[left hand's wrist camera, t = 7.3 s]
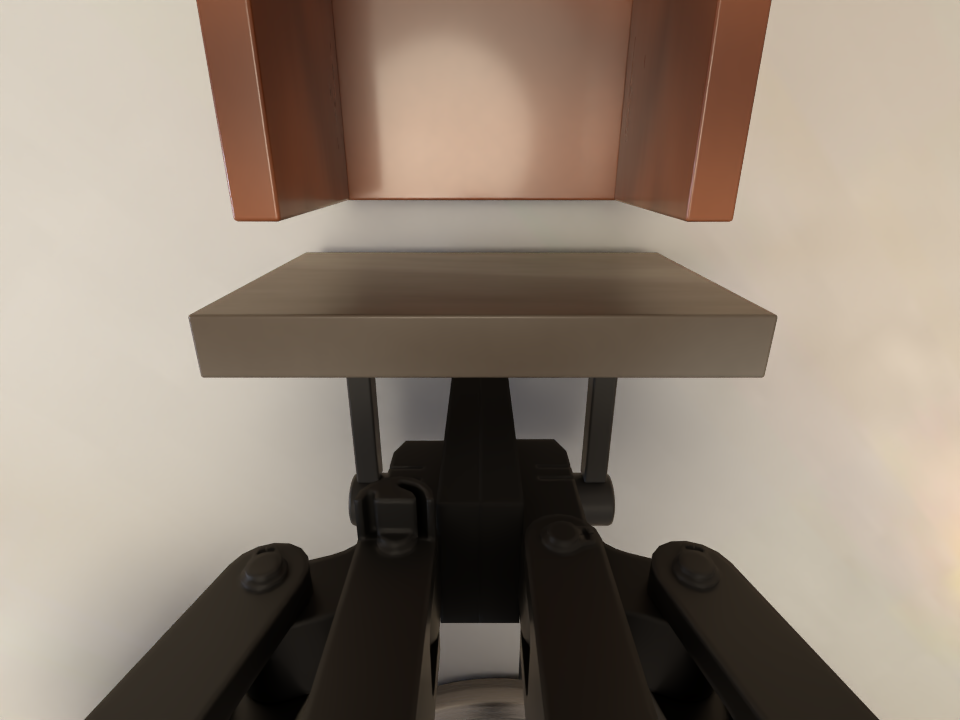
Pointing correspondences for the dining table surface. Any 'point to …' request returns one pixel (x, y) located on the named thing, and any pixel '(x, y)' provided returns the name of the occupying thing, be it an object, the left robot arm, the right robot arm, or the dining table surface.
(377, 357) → the drawer
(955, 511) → the dining table surface
